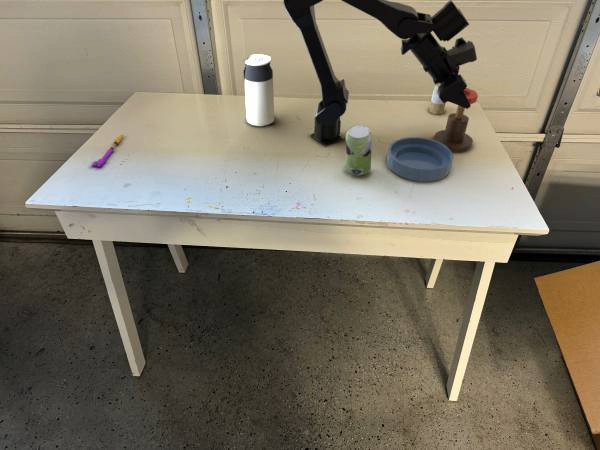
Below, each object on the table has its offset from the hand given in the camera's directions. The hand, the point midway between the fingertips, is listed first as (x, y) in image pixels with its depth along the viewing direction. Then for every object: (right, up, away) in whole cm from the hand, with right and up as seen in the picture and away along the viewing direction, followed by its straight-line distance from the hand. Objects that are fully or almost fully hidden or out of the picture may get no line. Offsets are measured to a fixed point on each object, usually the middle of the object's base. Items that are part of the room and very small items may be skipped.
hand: (466, 101), depth 112 cm
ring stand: (0, -9, +10) cm, 13 cm away
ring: (-1, +1, 0) cm, 2 cm away
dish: (-12, -16, +1) cm, 20 cm away
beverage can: (-28, -18, -2) cm, 33 cm away
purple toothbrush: (-92, -12, +5) cm, 93 cm away
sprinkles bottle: (0, +4, +25) cm, 25 cm away
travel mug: (-53, 0, +19) cm, 57 cm away
